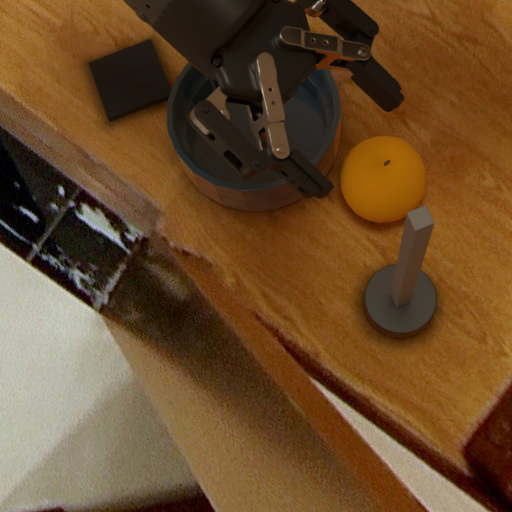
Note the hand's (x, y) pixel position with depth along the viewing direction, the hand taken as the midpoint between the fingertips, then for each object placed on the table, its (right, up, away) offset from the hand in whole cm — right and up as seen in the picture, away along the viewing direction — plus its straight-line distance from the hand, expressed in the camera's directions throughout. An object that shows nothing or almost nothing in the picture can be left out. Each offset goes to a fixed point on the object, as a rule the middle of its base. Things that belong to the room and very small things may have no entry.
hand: (362, 148), depth 59 cm
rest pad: (-20, +11, +30) cm, 37 cm away
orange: (+5, -1, +24) cm, 24 cm away
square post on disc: (+6, -12, +20) cm, 24 cm away
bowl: (-7, +5, +26) cm, 28 cm away
